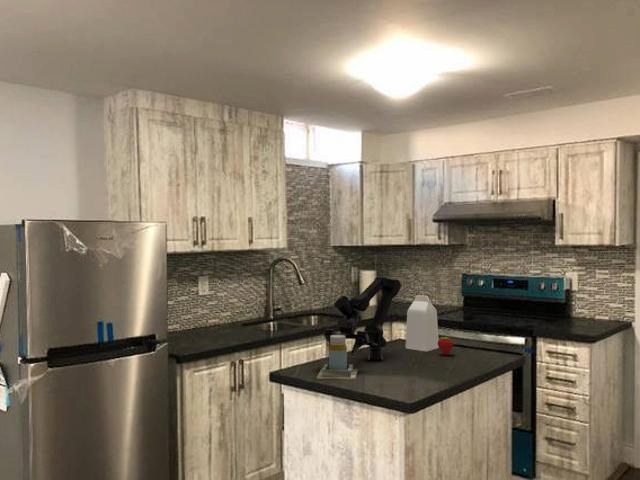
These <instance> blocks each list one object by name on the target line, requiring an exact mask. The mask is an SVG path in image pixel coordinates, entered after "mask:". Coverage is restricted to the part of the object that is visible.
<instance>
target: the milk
mask: <svg viewBox="0 0 640 480" xmlns="http://www.w3.org/2000/svg"><path fill="white" fill-rule="evenodd" d="M431 302H432V301H430V299H429V295H422V294H421V295H419V294H417V295H416V296H415V297H414V301H412V303H411V305H410V306H409V308H408V309H407V311H406V312H407V314H406V332H405V349H407V350H413V351H414V350H415V351H420V352H426V353H427V352H429V351H433V350H437V349H439V347H438V344H437V343H438V341H439V340H440V338H439V326H438V313H437V312H438V311H437V309H436V308H435V306H434V305H433V304H432V303H431Z"/></svg>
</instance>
